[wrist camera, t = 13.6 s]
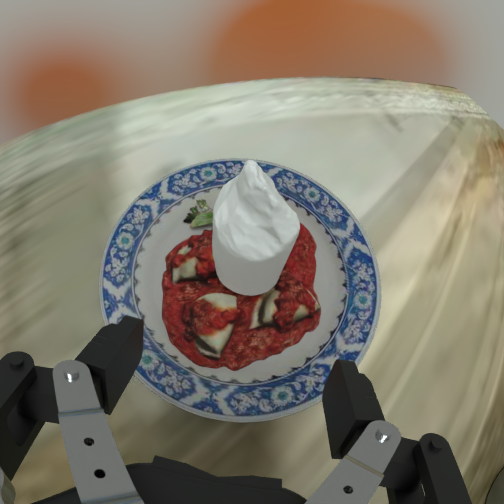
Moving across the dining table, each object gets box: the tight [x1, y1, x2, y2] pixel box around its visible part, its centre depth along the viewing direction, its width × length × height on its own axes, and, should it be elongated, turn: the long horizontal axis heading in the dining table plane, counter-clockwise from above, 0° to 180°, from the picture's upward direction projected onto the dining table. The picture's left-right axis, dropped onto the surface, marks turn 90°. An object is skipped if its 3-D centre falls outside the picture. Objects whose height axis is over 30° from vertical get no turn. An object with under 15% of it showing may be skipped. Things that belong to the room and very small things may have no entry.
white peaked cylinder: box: [212, 160, 300, 296], centre depth 22 cm, size 6×12×6 cm
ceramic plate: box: [99, 158, 381, 422], centre depth 28 cm, size 26×26×3 cm
